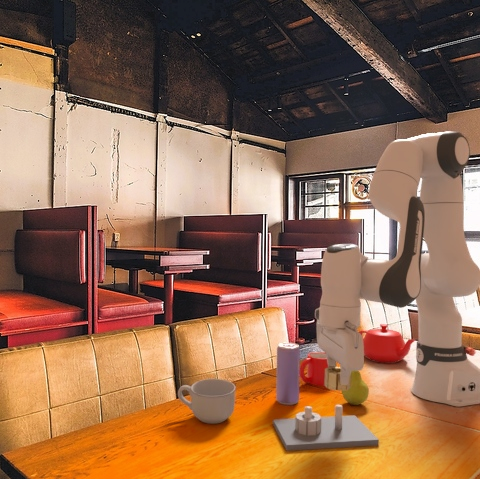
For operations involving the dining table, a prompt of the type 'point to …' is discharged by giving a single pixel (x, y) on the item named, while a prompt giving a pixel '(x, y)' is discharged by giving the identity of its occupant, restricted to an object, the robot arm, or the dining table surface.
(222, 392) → the teacup
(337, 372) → the brass gear
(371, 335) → the teapot
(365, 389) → the fruit
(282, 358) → the beverage can
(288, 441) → the gear board
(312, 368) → the mug
